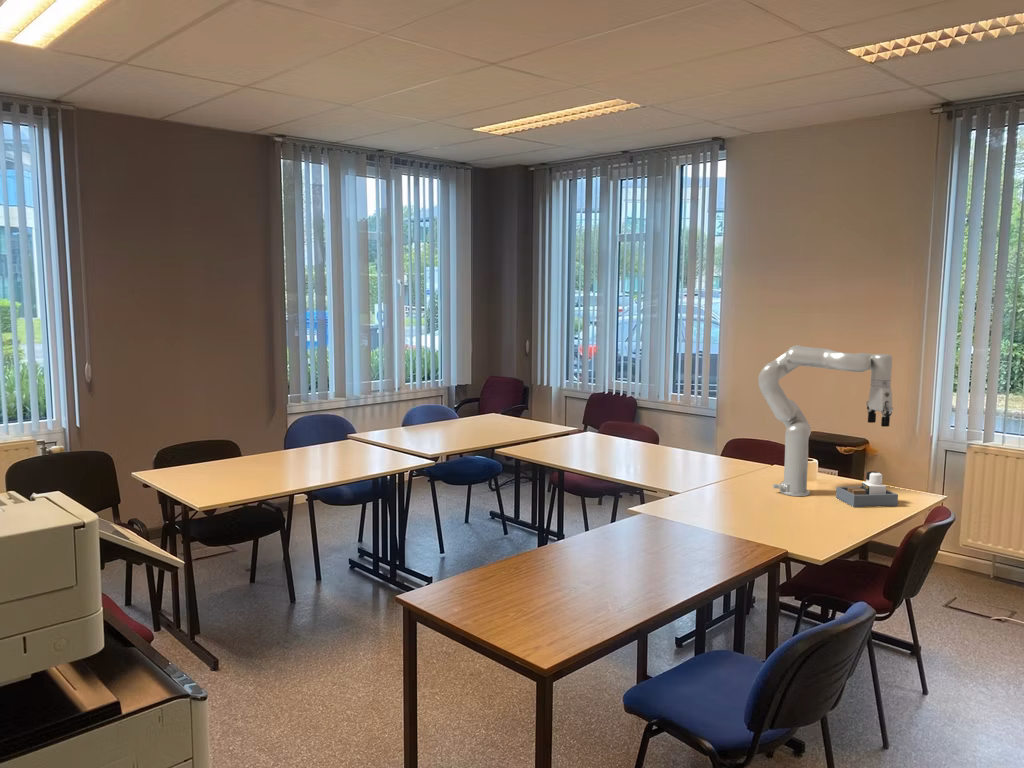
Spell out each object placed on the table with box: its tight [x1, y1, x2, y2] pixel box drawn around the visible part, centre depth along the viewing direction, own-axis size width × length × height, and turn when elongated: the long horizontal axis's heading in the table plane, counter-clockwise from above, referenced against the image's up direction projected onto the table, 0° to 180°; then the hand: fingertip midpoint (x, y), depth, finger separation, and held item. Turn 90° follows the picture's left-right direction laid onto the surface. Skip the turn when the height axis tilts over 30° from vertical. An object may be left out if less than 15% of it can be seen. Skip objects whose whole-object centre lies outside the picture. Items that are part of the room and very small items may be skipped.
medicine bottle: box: [861, 470, 887, 495], centre depth 309 cm, size 7×7×12 cm
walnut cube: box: [848, 486, 866, 495], centre depth 308 cm, size 5×5×5 cm
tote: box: [835, 485, 899, 508], centre depth 309 cm, size 19×14×5 cm
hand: (878, 424), depth 306 cm, fingers open, 9 cm apart
